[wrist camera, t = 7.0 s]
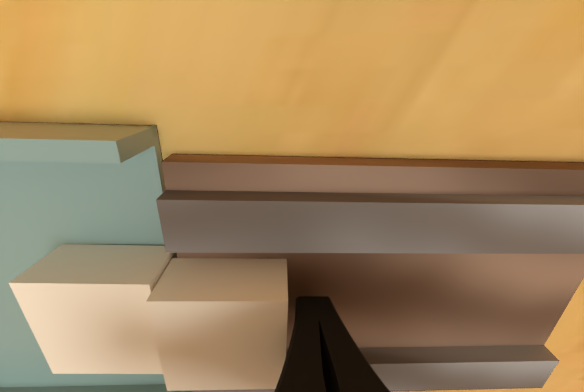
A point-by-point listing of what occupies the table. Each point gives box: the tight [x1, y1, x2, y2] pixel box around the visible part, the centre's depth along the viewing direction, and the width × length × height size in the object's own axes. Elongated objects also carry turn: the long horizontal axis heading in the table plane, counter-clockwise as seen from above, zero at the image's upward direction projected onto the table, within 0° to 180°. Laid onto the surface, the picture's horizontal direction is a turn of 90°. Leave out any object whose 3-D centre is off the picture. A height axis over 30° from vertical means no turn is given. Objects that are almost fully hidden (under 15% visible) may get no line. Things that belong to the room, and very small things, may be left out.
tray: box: [0, 122, 192, 392], centre depth 11 cm, size 14×13×2 cm
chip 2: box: [146, 258, 288, 391], centre depth 10 cm, size 4×4×2 cm
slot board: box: [156, 154, 584, 392], centre depth 12 cm, size 12×17×2 cm
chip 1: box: [9, 244, 177, 374], centre depth 10 cm, size 4×4×2 cm
